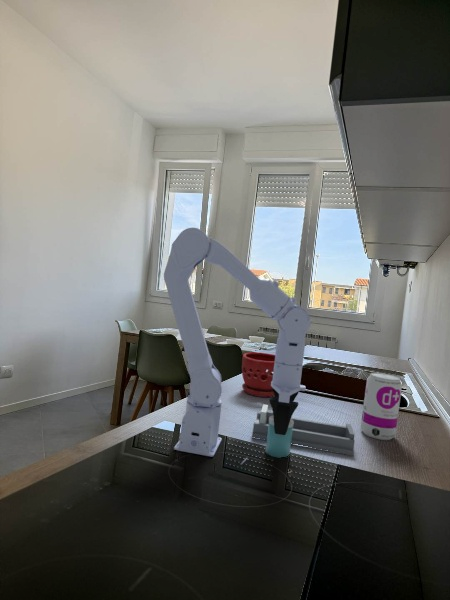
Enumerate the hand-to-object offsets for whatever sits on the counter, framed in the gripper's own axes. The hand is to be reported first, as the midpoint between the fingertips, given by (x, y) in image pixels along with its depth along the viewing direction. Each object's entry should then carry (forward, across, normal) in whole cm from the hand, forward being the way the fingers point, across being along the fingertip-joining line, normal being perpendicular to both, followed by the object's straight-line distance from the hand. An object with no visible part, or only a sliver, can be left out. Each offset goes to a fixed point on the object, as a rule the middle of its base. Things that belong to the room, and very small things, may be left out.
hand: (280, 427), depth 87 cm
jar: (+5, 0, 0) cm, 5 cm away
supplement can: (+6, +23, -24) cm, 34 cm away
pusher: (+4, +11, +2) cm, 12 cm away
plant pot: (+6, +45, +8) cm, 46 cm away
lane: (+5, +11, -4) cm, 13 cm away
